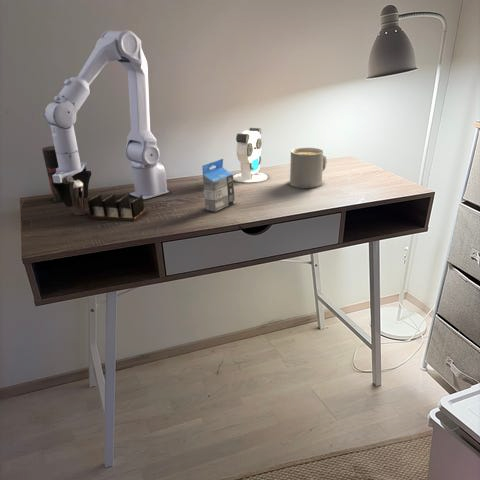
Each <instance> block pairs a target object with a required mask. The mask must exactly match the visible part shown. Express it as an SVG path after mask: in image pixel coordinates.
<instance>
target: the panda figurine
mask: <svg viewBox="0 0 480 480" xmlns="http://www.w3.org/2000/svg"><path fill="white" fill-rule="evenodd" d="M261 134H262V128H260V127H249V129H248V130H244V131H242V132H241V133H236V137H235V140H236V157H237V160H238V161H239V165H240V173H237V174H235V175H233V181H235V182H239V183H244V184H245V183H246V184H251V183H252V184H253V183H259V182H260V183H261V182H264V181H266V180H267V179H268V175H267V174H265V173H263V172H261V171H260V164H261V162H262V157H261V151H262V143H263V142H262V138H261Z"/></svg>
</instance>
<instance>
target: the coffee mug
mask: <svg viewBox="0 0 480 480" xmlns="http://www.w3.org/2000/svg"><path fill="white" fill-rule="evenodd" d="M327 163H328V159H327V155H326V154H324V150H323V149H321V148H317V147H297V148H293V149H292V150H290V166H289V167H290V169H289V172H290V174H289V177H290V178H289V185H290V186H291V187H294V188H299V189H312V188H318V187H320V186H322V185H323V184H322V183H323V172H324V171H325V170H326V167H327Z"/></svg>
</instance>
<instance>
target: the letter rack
mask: <svg viewBox="0 0 480 480" xmlns="http://www.w3.org/2000/svg"><path fill="white" fill-rule="evenodd" d="M87 204H88V208H89V214H90V219H95V220H96V219H97V220H98V219H99V220H112V221H128V222H129V221H130V222H135V221H137V220H138V219H139V218H140V217H141V216H142V215H144V214H145V213H146V210H145V203H144V199H143V196H142V195H140V196H139V197H135V199H133V200H131V201H130V194H125V195H124V196H122V197H121V198H119V199H118V200H117V198H116V194H115V193H111V194H110V195H108V196H107V197H105V198H104V199H103V194H102V193H101V192H98V193H97V194H96V195H94V196H92V197H91V198H89V199H87Z"/></svg>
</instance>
